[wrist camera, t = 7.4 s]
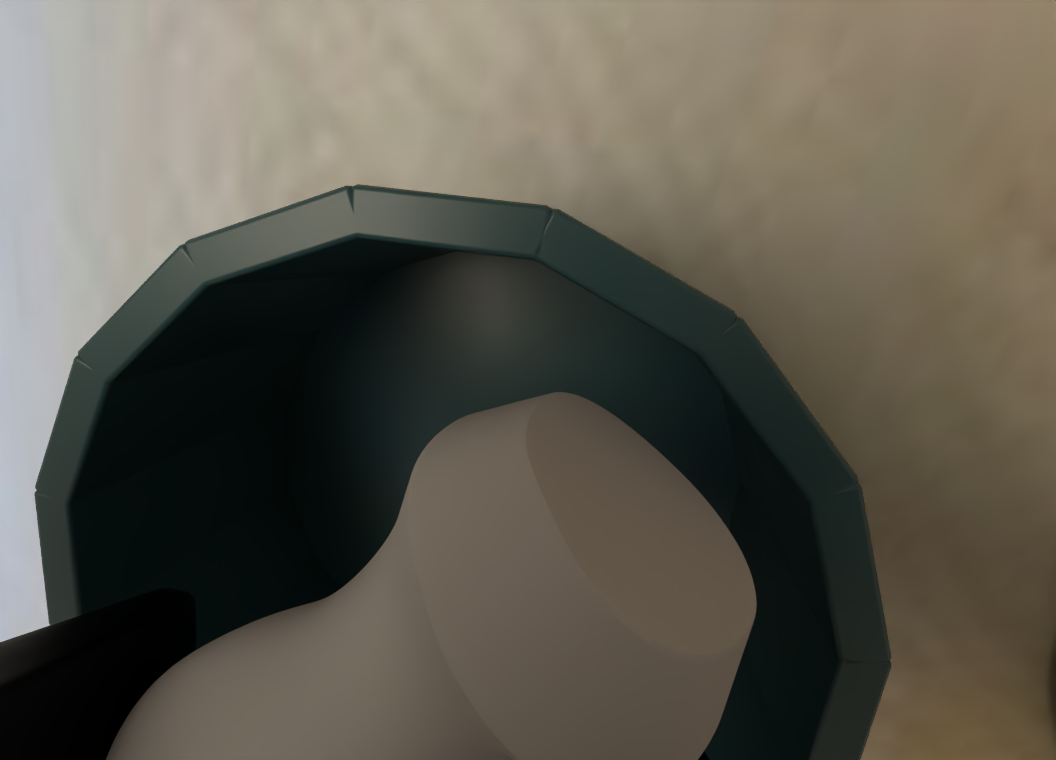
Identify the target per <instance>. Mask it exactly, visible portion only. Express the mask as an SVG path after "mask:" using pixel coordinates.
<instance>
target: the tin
mask: <svg viewBox="0 0 1056 760" xmlns="http://www.w3.org/2000/svg"><path fill="white" fill-rule="evenodd" d="M553 392H566V393H571V394H575V395H578V396H581V397H583V398H586V399H588V400H590V401H592V402H594V403H596V404H597V405H599V406H601V407H602V408H604V409H606V410H607V411H609V412H610V413H612V414H613V415H615V416H616V417H617V418H619V419H620V420H621V421H623V422H624V423H625V424H627V425H628V426H629V427H631V428H632V429H633V430H634V431H636V432H637V433H638V434H639V435H640V436H642V437H643V438H644V439H645V440H646V441H647V442H649V443H650V444H651V445H652V446H653V447H654V448H655V449H656V450H658V451H659V452H660V453H661V454H662V455H663V456H664V457H665V458H666V459H667V460H668V461H669V462H670V463H671V464H673V465H674V466H675V467H676V468H677V469H678V470H679V471H680V472H681V473H682V474H683V475H684V476H685V477H686V478H687V479H688V480H689V481H690V482H691V483H692V485H693V486H694V487H695V488H696V489H697V490H698V491H699V492H700V493H701V494H702V496H703V497H704V498H705V499H706V500H707V502H708V503H709V504H710V505H711V506H712V508H713V509H714V510H715V512H716V513H717V514H718V516H719V517H720V518H721V520H722V521H723V522H724V524H725V525H726V527H727V528H728V530H729V531H730V533H731V534H732V536H733V538H734V539H735V541H736V543H737V544H738V546H739V548H740V550H741V552H742V554H743V556H744V558H745V560H746V562H747V565H748V567H749V570H750V573H751V576H752V579H753V583H754V587H755V593H756V602H757V607H756V615H755V619H754V622H753V625H752V628H751V631H750V634H749V637H748V640H747V643H746V646H745V649H744V652H743V654H742V657H741V660H740V663H739V666H738V669H737V672H736V675H735V678H734V681H733V684H732V687H731V690H730V693H729V696H728V699H727V702H726V705H725V708H724V711H723V714H722V716H721V719H720V722H719V724H718V727H717V729H716V731H715V733H714V735H713V737H712V739H711V741H710V742H709V744H708V746H707V747H706V749H705V750H704V751H705V753H706V755H707V756H708V758H709V759H710V760H860V759H861V756H862V753H863V750H864V747H865V744H866V741H867V738H868V735H869V732H870V729H871V726H872V723H873V720H874V717H875V714H876V711H877V708H878V705H879V702H880V699H881V696H882V693H883V690H884V687H885V684H886V681H887V678H888V675H889V672H890V669H891V662H890V659H891V653H890V647H889V641H888V636H887V630H886V624H885V618H884V613H883V607H882V601H881V596H880V590H879V584H878V578H877V573H876V567H875V561H874V555H873V550H872V544H871V538H870V533H869V527H868V521H867V515H866V510H865V504H864V498H863V493H862V487H861V485H860V484H859V483H858V480H857V475H856V474H855V473H854V471H853V470H852V468H851V467H850V466H849V464H848V463H847V462H846V460H845V459H844V457H843V456H842V455H841V453H840V452H839V451H838V449H837V448H836V446H835V445H834V444H833V442H832V441H831V440H830V438H829V437H828V435H827V434H826V433H825V431H824V430H823V428H822V427H821V426H820V424H819V423H818V422H817V420H816V419H815V417H814V416H813V415H812V413H811V412H810V411H809V409H808V408H807V406H806V405H805V404H804V402H803V401H802V400H801V398H800V397H799V395H798V394H797V393H796V391H795V390H794V389H793V387H792V386H791V384H790V383H789V382H788V380H787V379H786V378H785V376H784V375H783V373H782V372H781V371H780V369H779V368H778V366H777V365H776V364H775V362H774V361H773V360H772V358H771V357H770V355H769V354H768V353H767V351H766V350H765V349H764V347H763V346H762V344H761V343H760V342H759V340H758V339H757V338H756V336H755V335H754V333H753V332H752V331H751V329H750V328H749V327H748V325H747V324H746V322H745V321H744V320H743V319H741V318H740V317H738V316H737V314H736V313H735V312H734V311H733V310H731V309H730V308H728V307H726V306H724V305H723V304H721V303H719V302H718V301H716V300H714V299H712V298H711V297H709V296H707V295H705V294H704V293H702V292H700V291H699V290H697V289H695V288H693V287H692V286H690V285H688V284H687V283H685V282H683V281H681V280H680V279H678V278H676V277H674V276H673V275H671V274H669V273H668V272H666V271H664V270H662V269H661V268H659V267H657V266H656V265H654V264H652V263H650V262H649V261H647V260H645V259H643V258H642V257H640V256H638V255H637V254H635V253H633V252H631V251H630V250H628V249H626V248H624V247H623V246H621V245H619V244H618V243H616V242H614V241H612V240H611V239H609V238H607V237H606V236H604V235H602V234H600V233H599V232H597V231H595V230H593V229H592V228H590V227H588V226H587V225H585V224H583V223H581V222H580V221H578V220H576V219H574V218H573V217H571V216H569V215H568V214H566V213H564V212H562V211H561V210H559V209H552V208H550V207H548V206H546V205H537V204H528V203H519V202H510V201H501V200H492V199H484V198H475V197H466V196H457V195H448V194H439V193H430V192H421V191H412V190H403V189H394V188H386V187H377V186H368V185H359V184H358V185H355V186H353V187H352V186H344V187H341V188H338V189H335V190H332V191H329V192H327V193H324V194H321V195H318V196H315V197H312V198H309V199H306V200H303V201H300V202H297V203H295V204H292V205H289V206H286V207H283V208H280V209H277V210H274V211H271V212H268V213H266V214H263V215H260V216H257V217H254V218H251V219H248V220H245V221H242V222H239V223H236V224H234V225H231V226H228V227H225V228H222V229H219V230H216V231H213V232H210V233H207V234H205V235H202V236H199V237H196V238H193V239H190V240H188V241H187V242H186V243H185V244H183V245H180V246H179V247H178V248H177V249H176V250H175V251H174V252H173V253H172V254H171V255H170V256H169V257H168V258H167V259H166V260H165V262H164V263H163V264H162V265H161V266H160V267H159V268H158V269H157V270H156V271H155V272H154V273H153V274H152V275H151V276H150V277H149V278H148V279H147V280H146V281H145V282H144V283H143V285H142V286H141V287H140V288H139V289H138V290H137V291H136V292H135V293H134V294H133V295H132V296H131V297H130V298H129V299H128V300H127V301H126V302H125V303H124V304H123V305H122V306H121V308H120V309H119V310H118V311H117V312H116V313H115V314H114V315H113V316H112V317H111V318H110V319H109V320H108V321H107V322H106V323H105V324H104V325H103V326H102V327H101V328H100V329H99V331H98V332H97V333H96V334H95V335H94V336H93V337H92V338H91V339H90V340H89V341H88V342H87V343H86V344H85V345H84V346H83V347H82V348H81V349H80V350H79V351H78V356H76V357H75V359H74V361H73V364H72V368H71V371H70V374H69V378H68V381H67V384H66V387H65V391H64V394H63V397H62V400H61V404H60V407H59V410H58V414H57V417H56V420H55V423H54V427H53V430H52V433H51V436H50V440H49V443H48V446H47V450H46V453H45V456H44V459H43V463H42V466H41V469H40V472H39V476H38V479H37V482H36V486H35V487H36V490H37V491H36V492H35V502H36V511H37V520H38V529H39V538H40V547H41V556H42V565H43V573H44V582H45V591H46V600H47V609H48V618H49V624H50V625H53V624H56V623H59V622H62V621H65V620H68V619H71V618H74V617H77V616H80V615H83V614H86V613H89V612H92V611H94V610H97V609H100V608H103V607H106V606H109V605H112V604H115V603H118V602H121V601H124V600H127V599H130V598H133V597H136V596H139V595H142V594H145V593H148V592H150V591H153V590H156V589H160V588H171V589H175V590H180V591H184V592H188V593H190V594H192V596H193V597H194V599H195V606H196V638H197V642H196V648H195V651H196V650H197V649H199V648H201V647H202V646H204V645H206V644H208V643H210V642H211V641H213V640H215V639H217V638H219V637H221V636H223V635H225V634H227V633H229V632H231V631H233V630H235V629H238V628H240V627H242V626H244V625H247V624H249V623H251V622H254V621H256V620H259V619H261V618H264V617H267V616H269V615H272V614H275V613H278V612H281V611H284V610H287V609H291V608H294V607H298V606H301V605H305V604H309V603H312V602H316V601H319V600H322V599H324V598H326V597H328V596H330V595H332V594H333V593H335V592H337V591H338V590H339V589H341V588H342V587H343V586H345V585H346V584H347V583H348V582H349V581H351V580H352V579H353V578H354V577H355V576H356V575H357V574H358V573H359V572H360V571H361V570H362V569H363V568H364V567H365V566H366V565H367V564H368V563H369V561H370V560H371V559H372V558H373V557H374V556H375V554H376V553H377V552H378V551H379V549H380V548H381V547H382V545H383V544H384V542H385V541H386V539H387V538H388V536H389V535H390V533H391V531H392V530H393V528H394V526H395V523H396V521H397V519H398V516H399V513H400V509H401V506H402V503H403V499H404V496H405V493H406V490H407V486H408V483H409V480H410V477H411V474H412V471H413V468H414V466H415V464H416V462H417V460H418V458H419V456H420V454H421V453H422V451H423V450H424V449H425V447H426V446H427V445H428V443H429V442H430V441H431V440H432V439H433V438H434V437H435V436H436V435H437V434H438V433H439V432H441V431H442V430H443V429H444V428H446V427H447V426H448V425H450V424H451V423H453V422H455V421H456V420H458V419H460V418H462V417H464V416H467V415H470V414H473V413H477V412H480V411H484V410H488V409H492V408H496V407H499V406H503V405H507V404H511V403H515V402H518V401H522V400H526V399H530V398H534V397H538V396H542V395H545V394H549V393H553Z"/></svg>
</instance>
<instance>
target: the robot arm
mask: <svg viewBox="0 0 1056 760" xmlns="http://www.w3.org/2000/svg"><path fill="white" fill-rule="evenodd" d="M196 642H197V638H196V606H195V599H194V597H193V596H192V594H190V593H188V592H184V591H180V590H175V589H171V588H160V589H156V590H153V591H150V592H148V593H145V594H142V595H139V596H136V597H133V598H130V599H127V600H124V601H121V602H118V603H115V604H112V605H109V606H106V607H103V608H100V609H97V610H94V611H92V612H89V613H86V614H83V615H80V616H77V617H74V618H71V619H68V620H65V621H62V622H59V623H56V624H53V625H50V626H47V627H44V628H41V629H38V630H35V631H33V632H30V633H27V634H24V635H21V636H18V637H15V638H12V639H9V640H6V641H3V642H0V760H106V758H107V755H108V753H109V751H110V748H111V746H112V744H113V741H114V739H115V737H116V735H117V733H118V732H119V730H120V728H121V727H122V725H123V723H124V721H125V720H126V718H127V716H128V715H129V713H130V712H131V710H132V709H133V707H134V706H135V705H136V703H137V702H138V701H139V699H140V698H141V697H142V696H143V695H144V693H145V692H146V691H147V690H148V689H149V687H150V686H151V685H152V684H153V683H154V682H155V681H156V680H157V679H158V678H159V677H161V676H162V675H163V674H164V673H165V672H166V671H167V670H168V669H170V668H171V667H172V666H173V665H175V664H176V663H177V662H179V661H180V660H182V659H183V658H185V657H186V656H188V655H189V654H191V653H192V652H194V651H195V648H196ZM698 760H710V759H709V758H708V756H707V755H706V753H705V751H704V752H703V753H702V755H701V756H700V758H699V759H698Z"/></svg>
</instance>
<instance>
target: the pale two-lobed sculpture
mask: <svg viewBox="0 0 1056 760" xmlns="http://www.w3.org/2000/svg"><path fill="white" fill-rule="evenodd" d="M756 607H757V602H756V593H755V587H754V583H753V579H752V576H751V573H750V570H749V567H748V565H747V562H746V560H745V558H744V556H743V554H742V552H741V550H740V548H739V546H738V544H737V543H736V541H735V539H734V538H733V536H732V534H731V533H730V531H729V530H728V528H727V527H726V525H725V524H724V522H723V521H722V520H721V518H720V517H719V516H718V514H717V513H716V512H715V510H714V509H713V508H712V506H711V505H710V504H709V503H708V502H707V500H706V499H705V498H704V497H703V496H702V494H701V493H700V492H699V491H698V490H697V489H696V488H695V487H694V486H693V485H692V483H691V482H690V481H689V480H688V479H687V478H686V477H685V476H684V475H683V474H682V473H681V472H680V471H679V470H678V469H677V468H676V467H675V466H674V465H673V464H671V463H670V462H669V461H668V460H667V459H666V458H665V457H664V456H663V455H662V454H661V453H660V452H659V451H658V450H656V449H655V448H654V447H653V446H652V445H651V444H650V443H649V442H647V441H646V440H645V439H644V438H643V437H642V436H640V435H639V434H638V433H637V432H636V431H634V430H633V429H632V428H631V427H629V426H628V425H627V424H625V423H624V422H623V421H621V420H620V419H619V418H617V417H616V416H615V415H613V414H612V413H610V412H609V411H607V410H606V409H604V408H602V407H601V406H599V405H597V404H596V403H594V402H592V401H590V400H588V399H586V398H583V397H581V396H578V395H575V394H571V393H566V392H553V393H549V394H545V395H542V396H538V397H534V398H530V399H526V400H522V401H518V402H515V403H511V404H507V405H503V406H499V407H496V408H492V409H488V410H484V411H480V412H477V413H473V414H470V415H467V416H464V417H462V418H460V419H458V420H456V421H455V422H453V423H451V424H450V425H448V426H447V427H446V428H444V429H443V430H442V431H441V432H439V433H438V434H437V435H436V436H435V437H434V438H433V439H432V440H431V441H430V442H429V443H428V445H427V446H426V447H425V449H424V450H423V451H422V453H421V454H420V456H419V458H418V460H417V462H416V464H415V466H414V468H413V471H412V474H411V477H410V480H409V483H408V486H407V490H406V493H405V496H404V499H403V503H402V506H401V509H400V513H399V516H398V519H397V521H396V523H395V526H394V528H393V530H392V531H391V533H390V535H389V536H388V538H387V539H386V541H385V542H384V544H383V545H382V547H381V548H380V549H379V551H378V552H377V553H376V554H375V556H374V557H373V558H372V559H371V560H370V561H369V563H368V564H367V565H366V566H365V567H364V568H363V569H362V570H361V571H360V572H359V573H358V574H357V575H356V576H355V577H354V578H353V579H352V580H351V581H349V582H348V583H347V584H346V585H345V586H343V587H342V588H341V589H339V590H338V591H337V592H335V593H333V594H332V595H330V596H328V597H326V598H324V599H322V600H319V601H316V602H312V603H309V604H305V605H301V606H298V607H294V608H291V609H287V610H284V611H281V612H278V613H275V614H272V615H269V616H267V617H264V618H261V619H259V620H256V621H254V622H251V623H249V624H247V625H244V626H242V627H240V628H238V629H235V630H233V631H231V632H229V633H227V634H225V635H223V636H221V637H219V638H217V639H215V640H213V641H211V642H210V643H208V644H206V645H204V646H202V647H201V648H199V649H197V650H196V651H194V652H192V653H191V654H189V655H188V656H186V657H185V658H183V659H182V660H180V661H179V662H177V663H176V664H175V665H173V666H172V667H171V668H170V669H168V670H167V671H166V672H165V673H164V674H163V675H162V676H161V677H159V678H158V679H157V680H156V681H155V682H154V683H153V684H152V685H151V686H150V687H149V689H148V690H147V691H146V692H145V693H144V695H143V696H142V697H141V698H140V699H139V701H138V702H137V703H136V705H135V706H134V707H133V709H132V710H131V712H130V713H129V715H128V716H127V718H126V720H125V721H124V723H123V725H122V727H121V728H120V730H119V732H118V733H117V735H116V737H115V739H114V741H113V744H112V746H111V748H110V751H109V753H108V755H107V758H106V760H698V759H699V758H700V756H701V755H702V753H703V752H704V750H705V749H706V747H707V746H708V744H709V742H710V741H711V739H712V737H713V735H714V733H715V731H716V729H717V727H718V724H719V722H720V719H721V716H722V714H723V711H724V708H725V705H726V702H727V699H728V696H729V693H730V690H731V687H732V684H733V681H734V678H735V675H736V672H737V669H738V666H739V663H740V660H741V657H742V654H743V652H744V649H745V646H746V643H747V640H748V637H749V634H750V631H751V628H752V625H753V622H754V619H755V615H756Z"/></svg>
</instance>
